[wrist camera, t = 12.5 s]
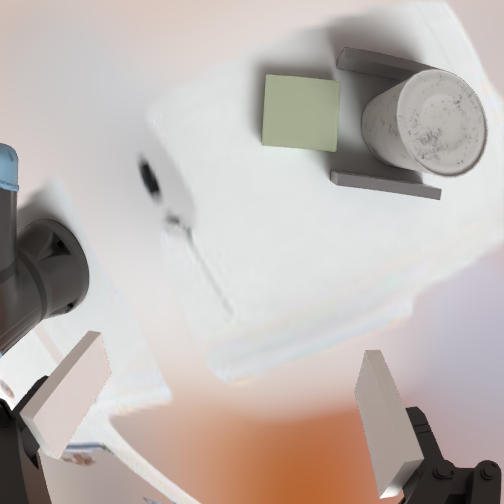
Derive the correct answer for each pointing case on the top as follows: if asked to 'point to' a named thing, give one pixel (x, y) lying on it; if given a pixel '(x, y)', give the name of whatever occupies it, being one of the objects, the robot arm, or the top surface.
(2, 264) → the robot arm
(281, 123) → the block
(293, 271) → the top surface
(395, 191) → the parallel grey rails
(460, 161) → the grey cylindrical piece
